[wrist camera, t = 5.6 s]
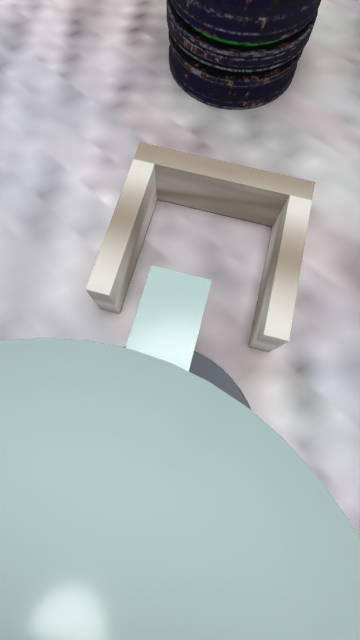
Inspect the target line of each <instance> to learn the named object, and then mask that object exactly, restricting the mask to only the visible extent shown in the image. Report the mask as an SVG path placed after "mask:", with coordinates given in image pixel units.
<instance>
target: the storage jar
mask: <svg viewBox="0 0 360 640" xmlns="http://www.w3.org/2000/svg"><path fill="white" fill-rule="evenodd" d="M320 2H321V0H167V23H168V28H169V41H170V46H169V65H170V70H171V72H172V75H173V77H174V79H175V80H176V82H177V83H178V85H179V86H180V87H181V88H182V89H183V90H184V91H185V92H186V93H188V94H189V95H190V96H192V97H193V98H195V99H197V100H198V101H200V102H203V103H205V104H207V105H211V106H214V107H218V108H224V109H235V110H241V109H250V108H255V107H259V106H262V105H265V104H267V103H269V102H271V101H273V100H275V99H276V98H278V97H279V96H280V95H281V94H283V93H284V91H285V90H286V89H287V88H288V86H289V85H290V83H291V81H292V79H293V76H294V73H295V70H296V67H297V62H298V60H299V58H300V57H301V54H302V51H303V48H304V47H305V45H306V43H307V42H308V40H309V37H310V34H311V32H312V29H313V26H314V23H315V20H316V17H317V13H318V7H319V5H320Z"/></svg>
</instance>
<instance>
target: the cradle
mask: <svg viewBox="0 0 360 640" xmlns="http://www.w3.org/2000/svg"><path fill="white" fill-rule="evenodd" d="M314 184H315V182H312V181H307V180H303V179H299V178H294V177H290V176H286V175H281V174H277V173H272V172H268V171H264V170H259V169H255V168H250V167H246V166H242V165H237V164H233V163H228V162H224V161H220V160H215V159H211V158H206V157H202V156H198V155H193V154H189V153H184V152H180V151H176V150H171V149H167V148H162V147H158V146H154V145H149V144H145V143H141V142H140V143H139V146H138V149H137V152H136V154H135V157H134V160H133V162H132V165H131V168H130V170H129V173H128V176H127V179H126V181H125V184H124V187H123V189H122V192H121V195H120V197H119V200H118V203H117V206H116V208H115V211H114V214H113V216H112V219H111V222H110V225H109V227H108V230H107V233H106V235H105V238H104V241H103V243H102V246H101V249H100V252H99V254H98V257H97V260H96V262H95V265H94V268H93V270H92V273H91V276H90V279H89V281H88V284H87V287H86V291H87V292H88V293H89V295H90V296H91V297H92V299H93V300H94V301H95V303H96V304H97V305H98V306H99V308H100V309H104V310H108V311H112V312H116V313H120V311H121V308H122V305H123V302H124V299H125V296H126V293H127V290H128V287H129V284H130V281H131V278H132V275H133V272H134V269H135V266H136V263H137V260H138V257H139V253H140V250H141V247H142V244H143V241H144V238H145V235H146V232H147V229H148V226H149V223H150V220H151V217H152V214H153V211H154V208H155V205H156V202H157V199H158V200H162V201H166V202H171V203H175V204H179V205H183V206H188V207H192V208H196V209H200V210H205V211H209V212H213V213H217V214H221V215H226V216H230V217H234V218H238V219H243V220H247V221H251V222H255V223H260V224H264V225H268V226H272V232H271V237H270V242H269V247H268V252H267V257H266V262H265V267H264V272H263V277H262V282H261V287H260V292H259V297H258V302H257V307H256V312H255V317H254V322H253V327H252V332H251V337H250V342H249V347H252V348H256V349H260V350H264V351H268V352H270V351H272V350H274V349H276V348H277V347H279V346H281V345H283V344H284V343H286V342H288V341H289V337H290V331H291V325H292V319H293V313H294V307H295V300H296V294H297V288H298V282H299V276H300V270H301V264H302V258H303V252H304V245H305V239H306V233H307V227H308V221H309V215H310V209H311V203H312V197H313V190H314Z"/></svg>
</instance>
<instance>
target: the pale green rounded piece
mask: <svg viewBox="0 0 360 640" xmlns="http://www.w3.org/2000/svg"><path fill="white" fill-rule="evenodd" d="M211 281H212V280H209V279H205V278H201V277H197V276H193V275H189V274H185V273H181V272H177V271H173V270H169V269H165V268H161V267H157V266H153V265H152V266H151V269H150V272H149V275H148V278H147V281H146V285H145V288H144V291H143V294H142V297H141V300H140V303H139V307H138V310H137V313H136V316H135V319H134V322H133V325H132V329H131V332H130V335H129V338H128V341H127V344H126V347H125V348H124V347H119V346H113V345H108V344H103V343H98V342H93V341H88V340H73V339H57V338H33V339H17V340H2V341H0V640H360V538H359V537H358V535H357V533H356V531H355V530H354V528H353V526H352V524H351V523H350V521H349V519H348V518H347V516H346V515H345V514H344V512H343V511H342V509H341V508H340V507H339V505H338V504H337V503H336V501H335V500H334V498H333V497H332V496H331V494H330V493H329V491H328V490H327V489H326V487H325V486H324V485H323V483H322V482H321V480H320V479H319V478H318V476H317V475H316V474H315V473H314V472H313V471H312V469H311V468H310V467H309V466H308V465H307V464H306V463H305V462H304V461H303V460H302V458H301V457H300V456H299V455H298V454H297V453H296V452H295V451H294V450H293V449H292V448H291V446H290V445H289V444H288V443H287V442H286V441H285V440H284V439H283V438H282V437H281V436H280V435H279V434H278V433H277V432H275V431H274V430H273V429H272V428H271V427H270V426H268V425H267V424H266V423H265V422H264V421H263V420H261V419H260V418H259V417H258V416H257V415H256V414H254V413H253V412H252V411H251V410H250V409H249V408H248V407H246V406H245V405H243V404H242V403H240V402H239V401H237V400H236V399H234V398H233V397H231V396H230V395H228V394H227V393H225V392H224V391H222V390H221V389H219V388H218V387H216V386H215V385H213V384H212V383H210V382H209V381H207V380H205V379H203V378H201V377H199V376H197V375H195V374H192V373H190V372H189V368H190V364H191V360H192V356H193V352H194V348H195V344H196V340H197V336H198V333H199V329H200V325H201V321H202V317H203V313H204V309H205V305H206V301H207V297H208V293H209V289H210V285H211Z"/></svg>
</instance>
